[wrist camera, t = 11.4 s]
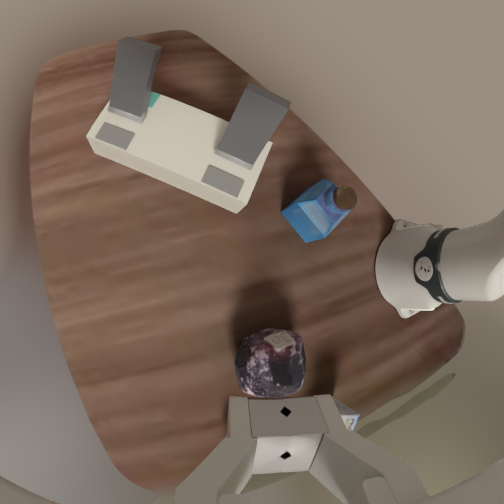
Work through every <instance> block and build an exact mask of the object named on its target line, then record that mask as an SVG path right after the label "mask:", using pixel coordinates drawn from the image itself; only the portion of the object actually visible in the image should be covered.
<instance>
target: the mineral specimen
mask: <svg viewBox="0 0 504 504" xmlns="http://www.w3.org/2000/svg"><path fill="white" fill-rule="evenodd" d="M234 364H235V369H236V374H237V378H238V383H239V386H240V388H241V390H242V391H243V392H245V393H247V394H252V395H254V396H257V397H280V396H284V395H288V394H292V393H295V392H297V391H299V390H300V389H301V387H302V385H303V381H304V377H305V364H306V358H305V352H304V346H303V342H302V338H301V336H299V335H298V334H297V333H293V332H291V331H288V330H284V329H272V328H266V329H264V330H261V331H259V332H257V333H255V334H253V335H250V336H248V337H246V338H243V339H242V341H241V344H240V347H239V349H238V353H237V356H236V359H235V362H234Z"/></svg>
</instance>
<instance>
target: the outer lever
mask: <svg viewBox="0 0 504 504" xmlns="http://www.w3.org/2000/svg"><path fill="white" fill-rule="evenodd" d="M161 49H162V47H161V46H158V45H155V44H151V43H148V42H144V41H141V40H137V39H133V38H130V37H125V38H123V39H121V40H119V42H118V47H117V53H116V59H115V65H114V71H113V78H112V86H111V94H110V103H109V107H108V111H109V112H111V113H114V114H117V115H120V116H122V117H125V118H128V119H130V120H133V121H136V122H138V123H142V122H143V121H144V119H145V117H146V115H147V111H146V110H147V105H148V101H149V96H150V92H151V88H152V83H153V79H154V75H155V71H156V67H157V64H158V60H159V56H160V53H161Z"/></svg>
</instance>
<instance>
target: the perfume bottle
mask: <svg viewBox="0 0 504 504" xmlns="http://www.w3.org/2000/svg"><path fill="white" fill-rule="evenodd" d="M356 204H357V195H356V193H355V191H354V190H353V189H352V188H351V187H350V186H347V185H343V186H341V187H336V186H335V185H334V184H333V183H332V182H330V181H328V180H327V179H325V178H324V179H322V180H321V181H319V182H318V183H316V184H314V185H313V186H311V187H310V188H308V189H306V190H305V191H304V192H303V193H302V194H301V195H300V196H299V197H297V198H296V199H295V200H294V201H293V202H292V203H291V204H290V205H288V206H287V207H286V208H285V209H284V210H283V211H282V212H281V213H282V214H283V216H284V217H285V218H286V219H287V220H288V222H289V223H290V224H291V225H292V227H293V228H294V229H295V230H296V231H297V233H298V234H299V235H300V236H301V238H302V239H303V240H304V241H305V242H306V243H307V242H311V241H314V240H318V239H322V238H325V237H326V236H327V235H328V234H329V233H330V232H331V231H332V230H333V229H334V228H335V227H336V226H337V225H338V224H339V223H340V222H341V221H342V219H343V218H344V217H345V216H346V215H347V214H348V213H349V212H350V210H351V209H353V208H354V207H355V206H356Z"/></svg>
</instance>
